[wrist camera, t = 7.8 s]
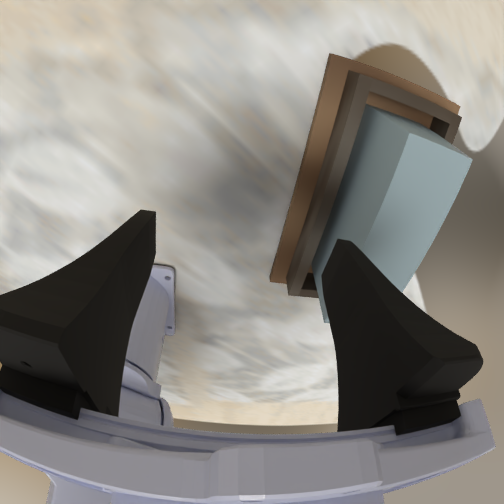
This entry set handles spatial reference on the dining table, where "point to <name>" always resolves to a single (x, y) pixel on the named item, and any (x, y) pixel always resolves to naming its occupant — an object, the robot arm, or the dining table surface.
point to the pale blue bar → (392, 195)
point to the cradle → (344, 154)
